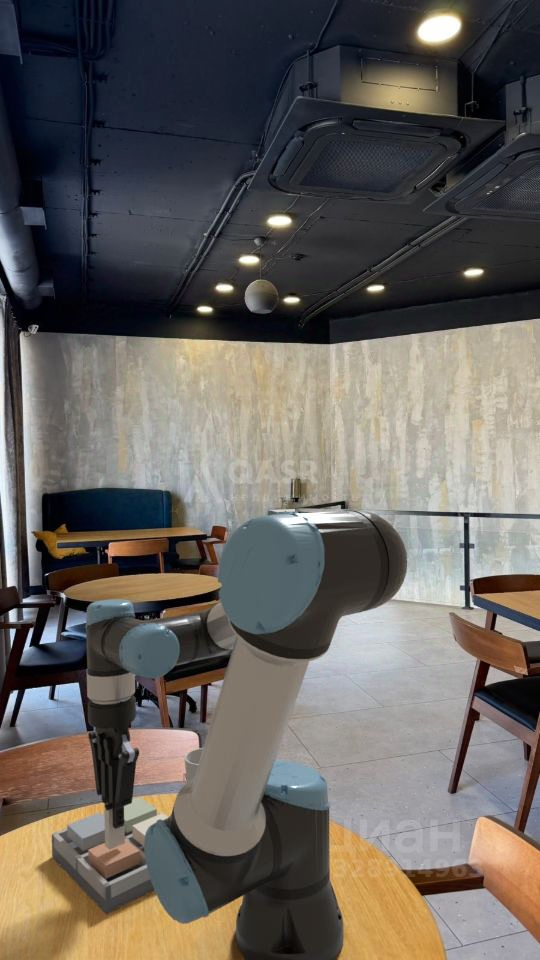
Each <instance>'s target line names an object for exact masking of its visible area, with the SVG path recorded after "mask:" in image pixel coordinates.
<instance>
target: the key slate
mask: <svg viewBox="0 0 540 960" xmlns="http://www.w3.org/2000/svg"><path fill="white" fill-rule="evenodd" d="M102 814H103V813H102V812H96V813H95V814H91V815H89V816H86V817H84V818H81V819H78V820H76V821H73V822H71V823H68V824H67V827H66V828H67V836H68V837H69V838H70V839H71V840H72V841H73V842H74V843H75V844H76V845H77V846H78V847H79V848H80V849H81V850H82V851H84V850H87V849H89V848H91V847H94V846H96V845H99V844H101V843H103V842H105V818H104V815H102Z"/></svg>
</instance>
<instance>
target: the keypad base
mask: <svg viewBox="0 0 540 960" xmlns="http://www.w3.org/2000/svg"><path fill="white" fill-rule="evenodd" d="M101 814H102V815H104V813H101ZM159 814H160V813H157V815H159ZM125 839H126V840H128V841H129V842H130V843H131V844H132V845H134V846H135V847H136V848H137V849H138V850H140V863H139V864H137V865H135V866H133V867H131V868H128V869H126V870H124V871H122V872H120V873H117V874H115V875H113V876H111V877H109V878H107V879H105V878H104V877H103V876H102V875H101V874H100V873H99V872H98V871H97V870H96V869H95V868H94V867H93V866H92V865H91V864H90V863H89V862H88V850H89V849H91V848H94V847H96V846H98V845H96V846H94V847H91V848H89V849H87V850H84V851H82V850H81V849H80V848H79V847H78V846H77V845H76V844H75V843H74V842H73V841H72V840H71V839H70V838H69V837H68V836H67V827H66V828H63V829H61V830H59V831H56V832H54V833H51V857H52V859H53V860H54V861H55V862H56V863H57V864H58V865H59V866H60V867H61V868H62V869H63V870H64V872H66V874H67V875H68V876H70V878H71V879H72V880H73V881H74V882H75V883H76V884H77V885H78V887H80V889H81V890H83V891H84V893H86V895H88V897H89V898H90V899H91V900H92V901H93V902H94V903H95V904H96V906H98V907H99V908H100V910H102V911H103V913H104V914H105V915H106V914H107V915H108V914H109V913H111V912H114V911H115V910H117V909H120V908H121V907H123V906H125V905H127V904H129V903H131V902H133V901H136V900H138V899H139V898H141V897H143V896H145V895H147V894H149V893H151V892H153V891H155V890H154V888H153V885H152V882H151V879H150V876H149V872H148V869H147V864H146V859H145V851H144V846H142V845H141V844H140V843H139V842H137V841H136V840H135V839H134V838H132V831H130V832H127V833H126V832H125ZM103 843H105V842H103ZM103 843H101V844H103ZM101 844H99V845H101Z"/></svg>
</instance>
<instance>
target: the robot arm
mask: <svg viewBox="0 0 540 960" xmlns="http://www.w3.org/2000/svg"><path fill="white" fill-rule="evenodd" d="M407 553H408V552H407V549H406V546H405V543H404V541H403V539H402V537H401V535H400V533H399V532H398V531H397V529H395V527H394V526H393V525H392V524H391V523H390V522H389V521H388V520H386V519H384V518H383V517H381V516H379V515H377V514H376V513H373V512H370V511H367V510H366V511H365V510H362V509H361V510H360V509H345V510H344V509H343V510H336V511H335V510H334V511H333V510H332V511H316V512H300V513H299V512H296V511H295V512H294V511H280V512H276V513H273V514H270V515H261V516H256V517H254V518H251V519H249V520H247V521H245V522H244V523H242V524H241V525H240V526H239V527H238V528H236V529H235V530H234V532H233V533H232V534H231V535H230V537H229V538H228V540H227V542H226V544H225V546H224V548H223V551H222V553H221V557H220V559H219V565H218V570H217V583H220V584H221V587H220V590H219V591H218V596H219V601H220V602H218V603H216V604H214V605H212V606H211V607H208V608H206V609H204V610H200V611H195V612H191V613H186V614H183V613H182V614H178V615H171V616H167V617H160V618H159V617H158V618H153V619H147V620H140V619H137V618H136V614H135V611H134V610H135V609H134V608H135V607H134V604H133V602H132V601H130V600H128V599H123V598H122V599H118V598H115V599H113V598H112V599H104V600H102V599H101V600H97V601H94V602H91V603H90V604H89V605H88V606H87V607H86V617H85V619H86V620H85V622H86V623H85V627H84V628H85V631H86V634H85V636H86V665H87V666H86V667H87V669H86V670H87V672H86V687H87V688H86V690H87V691H86V692H87V694H86V695H87V698H88V699H89V700H88V702H87V719H88V720H87V722H88V724H89V725H90V726H91V727H93V728H95V730H93V731H91V732H89V733H87V734H88V741H89V744H90V748H91V754H92V757H91V758H92V764H93V765H92V766H93V773H94V781H95V788H96V789H95V790H96V795H98V796H101V801H102V804H104V805H103V807H104V808H103V809H104V810H103V811H104V813H103V814H104V818H105V846H106V847H107V848H108V849H109V850H110V849H112V848H115V847H117V846H119V845H122V844H124V843H125V831H124V806H126V805H128V804H131V803H132V800H133V794H134V786H135V778H136V777H135V775H136V766H137V761H138V759H139V757H140V756H139V755H140V750H139V748H138V747H134V748H133V747H132V745H131V743H130V742H131V734H130V730H129V726H130V724H131V723H132V722H134V721H135V719H136V717H137V708H136V707H137V704H136V703H137V700H136V696H135V695H134V694H135V692H136V679H135V678H136V676H139V677H141V678H148V679H158V678H162V677H164V676H165V675H166V674H168V673H169V672H170V671H172V669H174V667H175V666H180V665H184V664H189V663H192V662H197V661H202V660H206V659H210V658H216V657H223V656H227V655H230V657H229V661H228V663H227V667H226V670H225V673H224V678H223V681H222V683H221V687H220V691H219V694H218V698H217V701H216V704H215V707H214V712H213V714H212V718H211V722H210V725H209V728H208V731H207V735H206V739H205V742H204V745H203V747H202V748H203V752H202V755H201V758H200V762H199V765H198V768H197V772H196V775H195V778H193V779H192V780H190V781H188V782H187V781H186V783H184V784H183V786H182V787H181V788H180V790H179V791H178V793H177V794H176V798H175V799H174V803H173V807H172V811H171V813H170V815H169V816H167V817H168V818H167V819H165V820H161V819H159V820H157V822H156V823H154V824H152V825H151V826H150V827H149V828H148V829H147V831H146V834H145V840H144V851H145V859H146V864H147V869H148V872H149V876H150V879H151V882H152V885H153V888H154V890H153V891H154V892H155V895H156V896H157V899H158V901H159V902H160V905H161V906H162V908H163V909H164V911H165V912H166V914H167V915H168V916H169V917H170V918H171V919H172V920H174V921H176V922H177V923H179V924H181V925H182V924H183V925H187V924H190V923H193V922H194V921H197V920H199V919H202V918H208V917H209V915H210V914H212V913H214V912H216V911H218V910H220V909H221V908H223V907H225V906H227V905H228V904H230V903H232V902H234V901H236V900H237V899H239V898H241V897H242V901H241V905H240V907H239V909H238V912H237V915H236V922H235V938H236V939H235V940H236V944H237V948H238V949H239V952H240V954H241V955H242V956H243V957H244V958H245V960H335V959H336V957H338V955H339V954H340V952H341V950H342V949H343V946H344V945H343V944H344V940H345V939H344V936H345V935H344V919H343V914H342V911H341V908H340V906H339V904H338V903H339V902H338V899H337V897H336V893H335V891H334V888H333V884H332V881H331V871H330V865H331V864H330V859H331V858H330V856H331V855H330V808H331V805H330V802H329V795H328V794H329V792H328V783H327V780H326V779H325V777H324V776H323V775H322V774H321V773H320V772H319V771H318V770H316V769H314V768H312V767H310V766H307V765H305V764H301V763H297V762H293V761H285V760H276V759H277V757H278V754H279V751H280V748H281V745H282V742H283V740H284V736H285V733H286V730H287V729H288V728H287V727H288V725H289V722H290V718H291V716H292V712H293V711H294V708H295V704H296V702H297V698H298V696H299V692H300V690H301V687H302V684H303V681H304V679H305V675H306V673H307V669H308V667H309V664H310V662H311V661H315V660H319V658H322V657H323V656H324V655H325V654H326V653H327V652H328V651H329V648H330V646H331V643H332V640H333V637H334V635H335V633H336V629H337V626H338V624H339V621H340V620H341V618H342V617H346V616H351V615H354V614H360V613H362V612H367V611H370V610H373V609H377V608H378V607H381V606H383V605H385V604H386V603H387V602H389V601H391V599H392V598H394V597H395V596H396V595H397V594H398V592H400V590H401V587H402V586H403V583H404V581H405V579H406V575H407V570H408V555H407Z"/></svg>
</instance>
